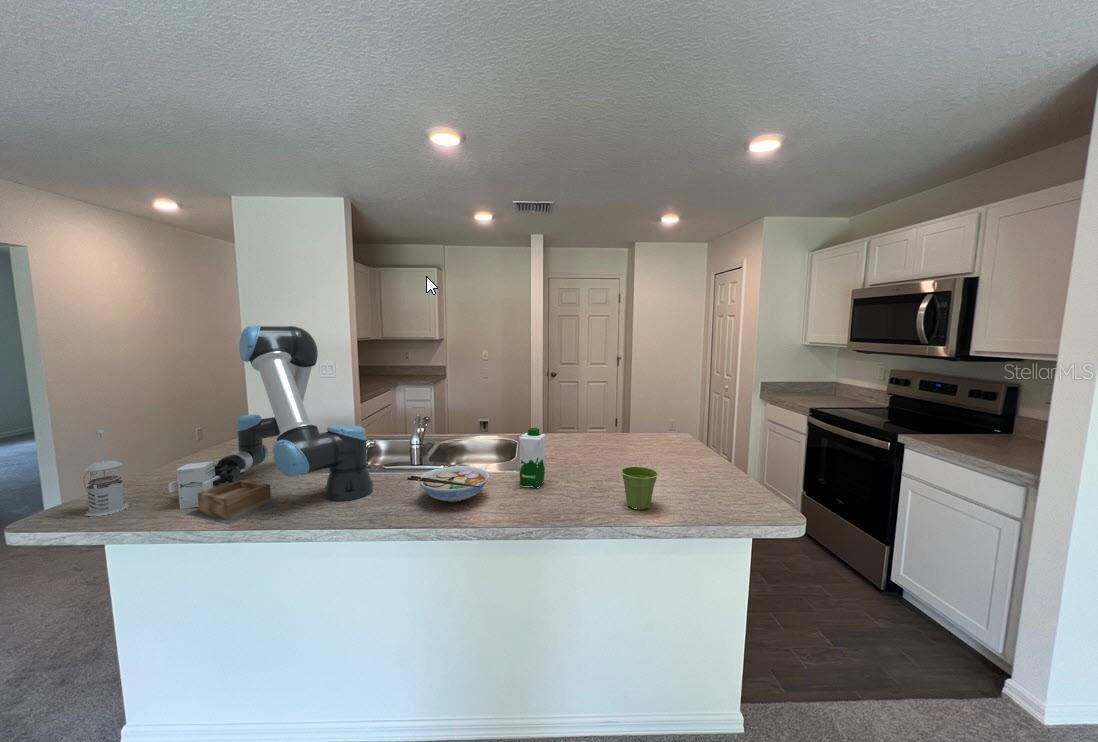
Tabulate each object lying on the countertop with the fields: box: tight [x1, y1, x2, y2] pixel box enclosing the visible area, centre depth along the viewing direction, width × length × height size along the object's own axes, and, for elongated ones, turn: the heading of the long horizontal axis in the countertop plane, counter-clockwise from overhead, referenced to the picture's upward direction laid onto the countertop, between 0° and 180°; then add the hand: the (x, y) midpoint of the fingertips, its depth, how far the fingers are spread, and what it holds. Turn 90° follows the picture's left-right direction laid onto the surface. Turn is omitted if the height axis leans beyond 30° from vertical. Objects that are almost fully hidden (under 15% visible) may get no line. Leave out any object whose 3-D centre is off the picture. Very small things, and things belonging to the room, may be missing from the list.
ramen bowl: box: [406, 465, 490, 503], centre depth 143 cm, size 25×23×8 cm
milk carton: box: [518, 427, 546, 487], centre depth 155 cm, size 9×9×20 cm
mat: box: [185, 498, 284, 525], centre depth 133 cm, size 19×17×1 cm
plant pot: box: [620, 465, 659, 510], centre depth 137 cm, size 12×12×11 cm
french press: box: [82, 429, 130, 517], centre depth 131 cm, size 10×12×25 cm
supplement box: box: [176, 461, 217, 510], centre depth 136 cm, size 7×7×13 cm
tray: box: [198, 478, 272, 520], centre depth 133 cm, size 13×13×6 cm
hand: (187, 487), depth 131 cm, fingers open, 9 cm apart
